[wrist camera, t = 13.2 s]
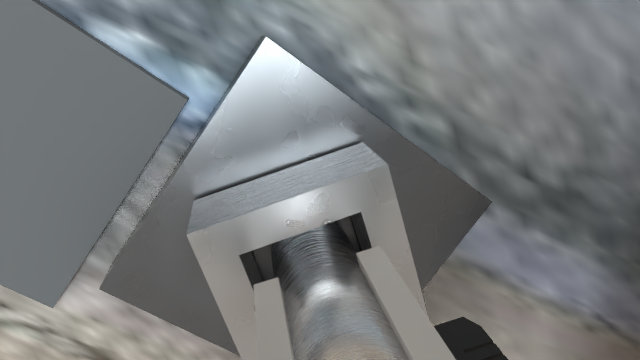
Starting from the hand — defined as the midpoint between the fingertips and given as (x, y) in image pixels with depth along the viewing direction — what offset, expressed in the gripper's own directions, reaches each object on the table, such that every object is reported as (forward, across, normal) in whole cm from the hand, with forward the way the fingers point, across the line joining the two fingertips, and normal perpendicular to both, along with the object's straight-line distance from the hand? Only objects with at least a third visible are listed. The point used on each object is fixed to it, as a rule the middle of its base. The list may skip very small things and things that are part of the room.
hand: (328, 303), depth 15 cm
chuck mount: (+6, 0, 0) cm, 6 cm away
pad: (+6, -9, +6) cm, 12 cm away
